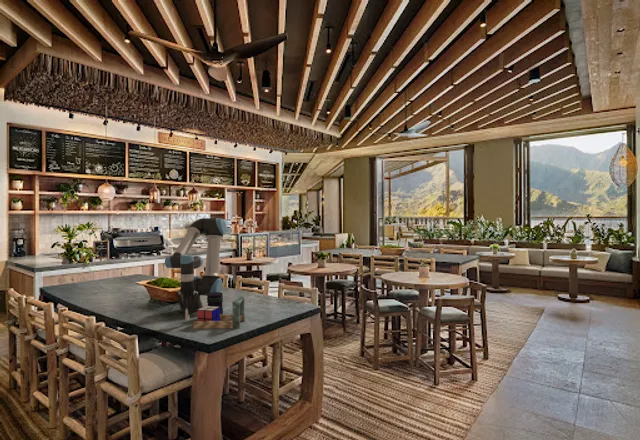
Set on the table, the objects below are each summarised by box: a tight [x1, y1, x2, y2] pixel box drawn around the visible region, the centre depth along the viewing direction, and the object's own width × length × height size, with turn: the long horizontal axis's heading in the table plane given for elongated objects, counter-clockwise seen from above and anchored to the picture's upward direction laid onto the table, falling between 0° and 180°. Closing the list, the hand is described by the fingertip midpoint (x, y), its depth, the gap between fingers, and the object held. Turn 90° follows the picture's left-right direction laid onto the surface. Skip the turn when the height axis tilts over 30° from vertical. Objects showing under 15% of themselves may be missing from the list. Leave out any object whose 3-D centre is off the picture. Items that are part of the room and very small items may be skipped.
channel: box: [192, 296, 245, 329], centre depth 229 cm, size 27×15×15 cm, turn 90°
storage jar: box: [206, 292, 224, 315], centre depth 246 cm, size 10×10×15 cm
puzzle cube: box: [196, 305, 220, 321], centre depth 229 cm, size 10×10×10 cm
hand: (187, 319), depth 229 cm, fingers closed
